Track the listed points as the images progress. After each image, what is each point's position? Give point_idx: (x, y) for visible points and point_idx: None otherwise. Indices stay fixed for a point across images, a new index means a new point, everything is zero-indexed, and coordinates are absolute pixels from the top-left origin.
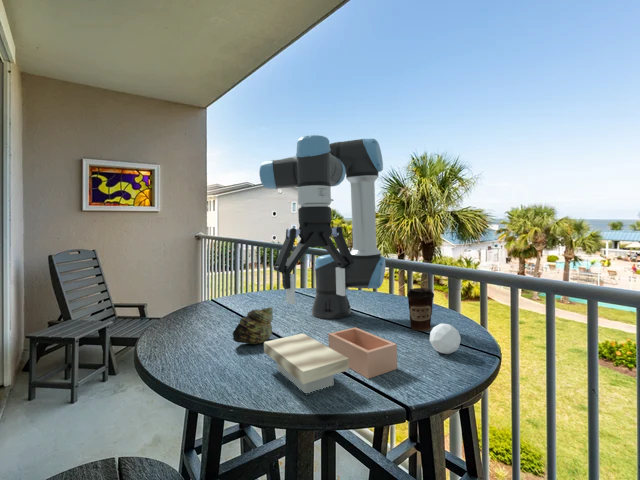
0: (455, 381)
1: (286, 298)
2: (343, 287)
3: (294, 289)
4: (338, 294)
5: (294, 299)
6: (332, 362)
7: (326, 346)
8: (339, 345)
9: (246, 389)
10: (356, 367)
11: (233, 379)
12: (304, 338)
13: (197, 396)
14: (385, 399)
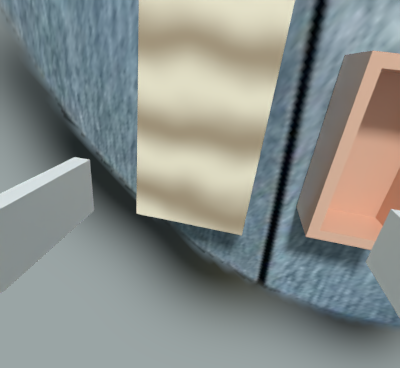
0: (387, 306)
1: (62, 165)
2: (393, 300)
3: (47, 249)
4: (382, 229)
5: (79, 221)
6: (202, 225)
7: (258, 154)
8: (340, 119)
9: (98, 75)
10: (308, 177)
11: (86, 7)
12: (260, 49)
13: (16, 34)
14: (257, 258)
